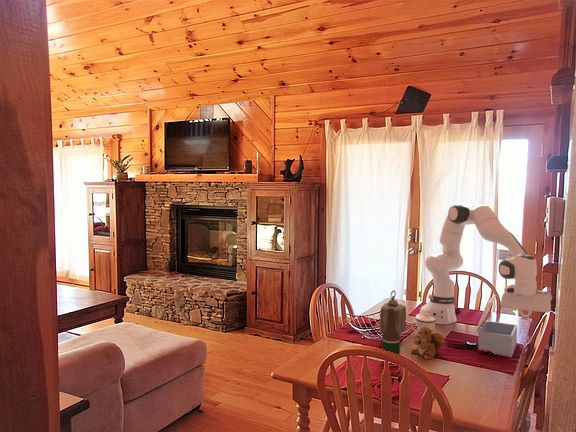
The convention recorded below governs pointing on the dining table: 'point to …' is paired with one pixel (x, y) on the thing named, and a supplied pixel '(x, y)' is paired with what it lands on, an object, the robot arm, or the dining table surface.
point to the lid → (485, 313)
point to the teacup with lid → (424, 323)
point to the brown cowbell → (399, 315)
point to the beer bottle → (391, 335)
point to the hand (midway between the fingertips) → (525, 319)
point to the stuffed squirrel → (428, 343)
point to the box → (498, 338)
